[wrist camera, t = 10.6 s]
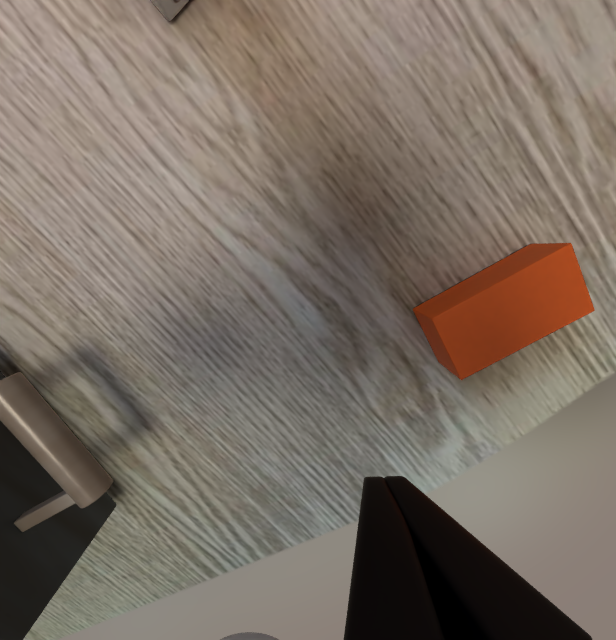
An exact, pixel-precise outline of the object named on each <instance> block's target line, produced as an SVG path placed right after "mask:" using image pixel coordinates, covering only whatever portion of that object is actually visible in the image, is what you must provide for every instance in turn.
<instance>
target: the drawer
mask: <svg viewBox="0 0 616 640" xmlns="http://www.w3.org/2000/svg"><path fill="white" fill-rule="evenodd" d="M112 483H113V479H112V478H111V477H110V476H109V474H108V473H107V472H106V471H105V470H104V469H103V467H102V466H101V465H100V464H99V463H98V462H97V460H96V459H95V458H94V457H93V456H92V455H91V453H90V452H89V451H88V450H87V449H86V448H85V446H84V445H83V444H82V443H81V442H80V441H79V439H78V438H77V437H76V436H75V435H74V434H73V432H72V431H71V430H70V429H69V428H68V427H67V425H66V424H65V423H64V422H63V421H62V420H61V418H60V417H59V416H58V415H57V414H56V413H55V411H54V410H53V409H52V408H51V407H50V406H49V404H48V403H47V402H46V401H45V400H44V398H43V397H42V396H41V395H40V394H39V393H38V391H37V390H36V389H35V388H34V387H33V386H32V384H31V383H30V382H29V381H28V380H27V379H26V377H25V376H24V375H23V374H22V373H21V372H18V373H15V374H12V375H10V376H8V377H5V376H4V375H3V374H2V372H1V371H0V640H23V639H24V637H25V636H26V634H27V633H28V631H29V630H30V629H31V627H32V626H33V624H34V623H35V621H36V620H37V618H38V617H39V616H40V614H41V613H42V611H43V610H44V608H45V607H46V606H47V604H48V603H49V601H50V600H51V598H52V597H53V596H54V594H55V593H56V591H57V590H58V588H59V587H60V586H61V584H62V583H63V581H64V580H65V578H66V577H67V576H68V574H69V573H70V571H71V570H72V568H73V567H74V566H75V564H76V563H77V561H78V560H79V558H80V557H81V556H82V554H83V553H84V551H85V550H86V548H87V547H88V546H89V544H90V543H91V541H92V540H93V538H94V537H95V535H96V534H97V533H98V531H99V530H100V528H101V527H102V525H103V524H104V523H105V521H106V520H107V518H108V517H109V515H110V514H111V513H112V511H113V510H114V508H115V507H116V503H115V502H114V501H113V500H112V498H111V497H110V496H109V495H108V494H107V493H106V491H107V490H108V489H109V488H110V486H111V485H112Z"/></svg>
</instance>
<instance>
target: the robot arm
mask: <svg viewBox="0 0 616 640" xmlns="http://www.w3.org/2000/svg"><path fill="white" fill-rule="evenodd" d="M344 640H592V638H591V636H590V635H589V634H588V633H587V632H585V631H584V630H583V629H582V628H581V627H580V626H578V625H577V624H576V623H575V622H574V621H572V620H571V619H570V618H569V617H568V616H566V615H565V614H564V613H563V612H562V611H561V610H560V609H558V608H557V607H556V606H555V605H554V604H553V603H551V602H550V601H549V600H548V599H547V598H545V597H544V596H543V595H542V594H541V593H540V592H538V591H537V590H536V589H535V588H534V587H533V586H531V585H530V584H529V583H528V582H527V581H526V580H524V579H523V578H522V577H521V576H520V575H518V574H517V573H516V572H515V571H514V570H513V569H511V568H510V567H509V566H508V565H507V564H506V563H505V562H503V561H502V560H501V559H500V558H499V557H497V556H496V555H495V554H494V553H493V552H491V551H490V550H489V549H488V548H487V547H486V546H485V545H483V544H482V543H481V542H480V541H479V540H478V539H476V538H475V537H474V536H473V535H472V534H470V533H469V532H468V531H467V530H466V529H465V528H463V527H462V526H461V525H460V524H459V523H458V522H456V521H455V520H454V519H453V518H452V517H451V516H449V515H448V514H447V513H446V512H445V511H444V510H442V509H441V508H440V507H439V506H438V505H437V504H435V503H434V502H433V501H432V500H431V499H430V498H428V497H427V496H426V495H425V494H424V493H422V492H421V491H420V490H419V489H418V488H417V487H415V486H414V485H413V484H412V483H411V482H410V481H408V480H407V479H406V478H405V477H403V476H387V477H385V478H383V477H365V478H364V483H363V491H362V499H361V507H360V515H359V523H358V531H357V539H356V547H355V555H354V562H353V571H352V579H351V586H350V594H349V603H348V611H347V618H346V626H345V634H344Z"/></svg>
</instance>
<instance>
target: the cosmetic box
mask: <svg viewBox="0 0 616 640" xmlns="http://www.w3.org/2000/svg"><path fill="white" fill-rule="evenodd" d="M150 1H151V2H152V3H153V4H154V5H155V6H156V7H157V9H158V10H159V11H160V12H161V13H162V15H163V16H164V17H165V18H166V19H167V20H168V21H171V20H172V19H173V18H174V17H175V16H176V15H177V14H178V12H179V11H180V10H181V9H182V8H183V7H184V6H185V5H186V3H187V2H188V1H189V0H150Z"/></svg>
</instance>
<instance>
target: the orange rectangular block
mask: <svg viewBox="0 0 616 640" xmlns="http://www.w3.org/2000/svg"><path fill="white" fill-rule="evenodd" d="M413 311H414V313H415V315H416V317H417V319H418V321H419V323H420V325H421V327H422V329H423V331H424V334H425V336H426V338H427V340H428V342H429V344H430V346H431V348H432V350H433V352H434V354H435V356H436V358H437V360H438V362H439V363H441V364H442V365H443V366H444V367H446V368H447V369H448V370H449V371H451V372H452V373H453V374H454V375H456V376H457V377H458V378H459V379H461V380H462V379H464V378H466V377H468V376H470V375H472V374H474V373H476V372H478V371H480V370H482V369H484V368H485V367H487V366H489V365H491V364H493V363H495V362H497V361H499V360H501V359H503V358H505V357H507V356H508V355H510V354H512V353H514V352H516V351H518V350H520V349H522V348H524V347H526V346H528V345H530V344H531V343H533V342H535V341H537V340H539V339H541V338H543V337H545V336H547V335H549V334H551V333H553V332H554V331H556V330H558V329H560V328H562V327H564V326H566V325H568V324H570V323H572V322H574V321H576V320H577V319H579V318H581V317H583V316H585V315H587V314H589V313H591V312H593V311H594V307H593V304H592V301H591V298H590V295H589V292H588V290H587V287H586V284H585V281H584V278H583V275H582V272H581V270H580V267H579V264H578V261H577V258H576V255H575V252H574V250H573V247H572V244H571V243H549V244H530V245H528V246H526V247H524V248H522V249H520V250H519V251H517V252H515V253H513V254H511V255H510V256H508V257H506V258H504V259H502V260H500V261H499V262H497V263H495V264H493V265H491V266H490V267H488V268H486V269H484V270H482V271H480V272H479V273H477V274H475V275H473V276H471V277H470V278H468V279H466V280H464V281H462V282H460V283H459V284H457V285H455V286H453V287H451V288H450V289H448V290H446V291H444V292H442V293H440V294H439V295H437V296H435V297H433V298H431V299H430V300H428V301H426V302H424V303H422V304H420V305H419V306H417V307H415V308H413Z"/></svg>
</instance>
